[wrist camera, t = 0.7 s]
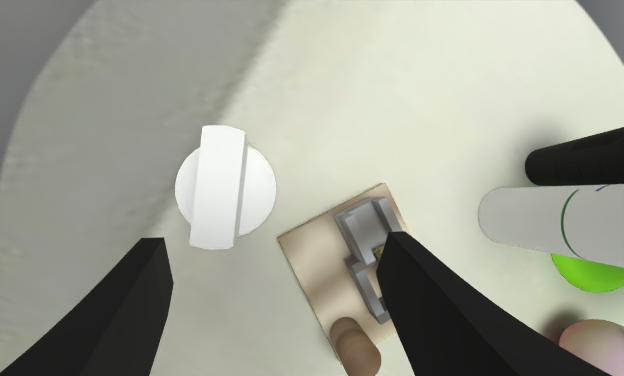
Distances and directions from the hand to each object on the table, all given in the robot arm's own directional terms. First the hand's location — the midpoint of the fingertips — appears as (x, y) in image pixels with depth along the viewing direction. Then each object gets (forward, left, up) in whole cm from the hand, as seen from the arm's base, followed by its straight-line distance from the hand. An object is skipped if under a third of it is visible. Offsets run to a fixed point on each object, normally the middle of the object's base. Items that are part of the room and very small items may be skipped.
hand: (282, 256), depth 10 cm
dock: (-11, -7, -24) cm, 28 cm away
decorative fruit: (-33, -27, -25) cm, 49 cm away
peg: (-16, -2, -23) cm, 28 cm away
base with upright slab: (+4, +2, -25) cm, 25 cm away
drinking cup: (-11, -35, -25) cm, 44 cm away
